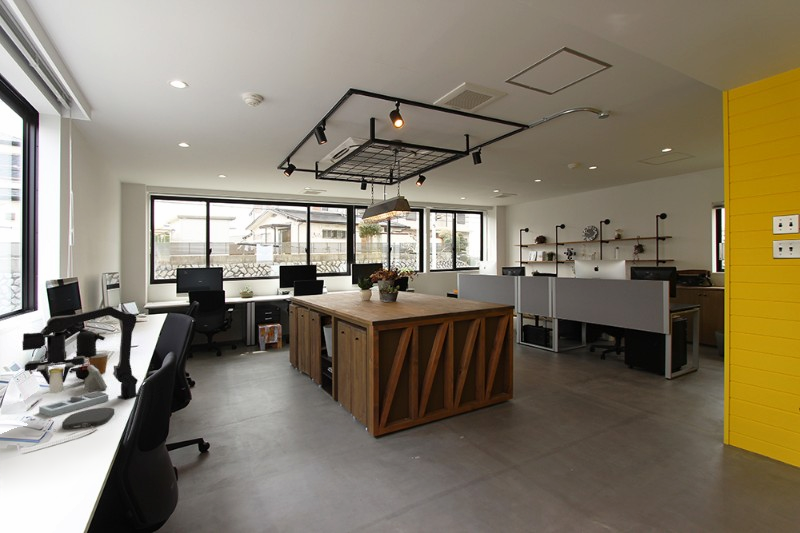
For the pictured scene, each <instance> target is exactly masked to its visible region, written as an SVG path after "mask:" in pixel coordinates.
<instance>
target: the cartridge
mask: <svg viewBox="0 0 800 533" xmlns="http://www.w3.org/2000/svg"><path fill="white" fill-rule="evenodd" d="M48 371H49V384H48V385H49V390H48V391H49V394H58V393H62V392H64V382H63V374H64V367H56V368H51V369H48Z"/></svg>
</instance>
